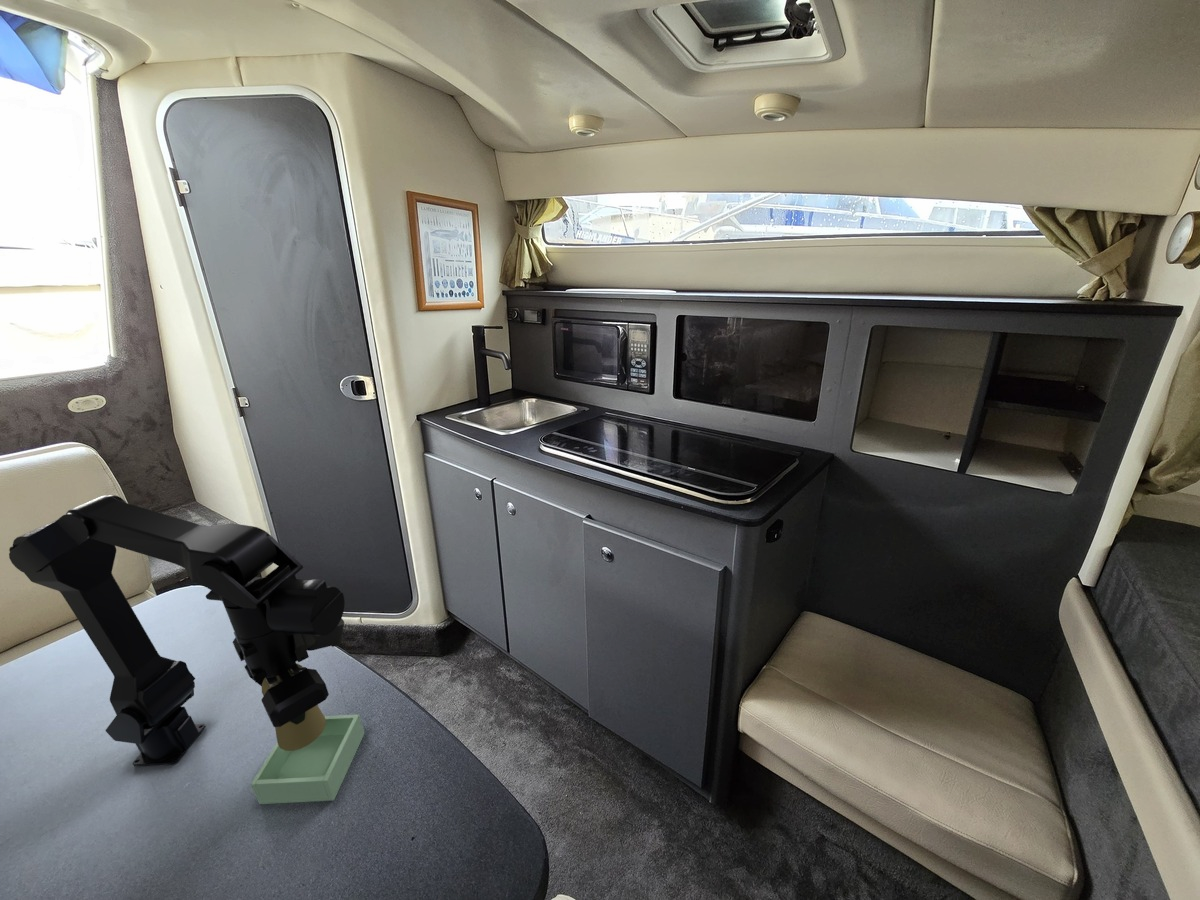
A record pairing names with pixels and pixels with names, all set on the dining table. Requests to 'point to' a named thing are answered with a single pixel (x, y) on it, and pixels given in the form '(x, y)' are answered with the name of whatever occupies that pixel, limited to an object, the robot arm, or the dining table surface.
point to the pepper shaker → (298, 726)
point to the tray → (310, 765)
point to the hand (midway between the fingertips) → (294, 711)
